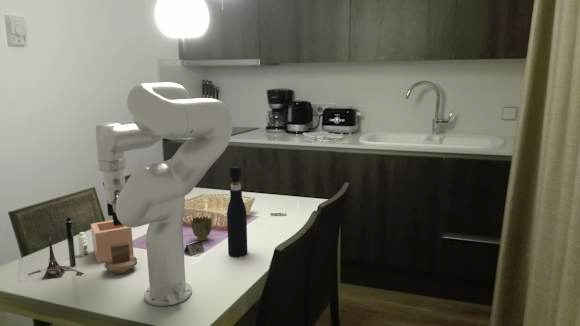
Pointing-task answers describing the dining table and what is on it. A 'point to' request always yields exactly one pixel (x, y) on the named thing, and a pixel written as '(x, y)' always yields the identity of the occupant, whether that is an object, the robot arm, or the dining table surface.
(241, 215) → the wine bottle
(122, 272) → the lid
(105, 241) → the open-top pink box
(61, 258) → the dining table surface
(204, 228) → the cup
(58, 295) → the dining table surface
